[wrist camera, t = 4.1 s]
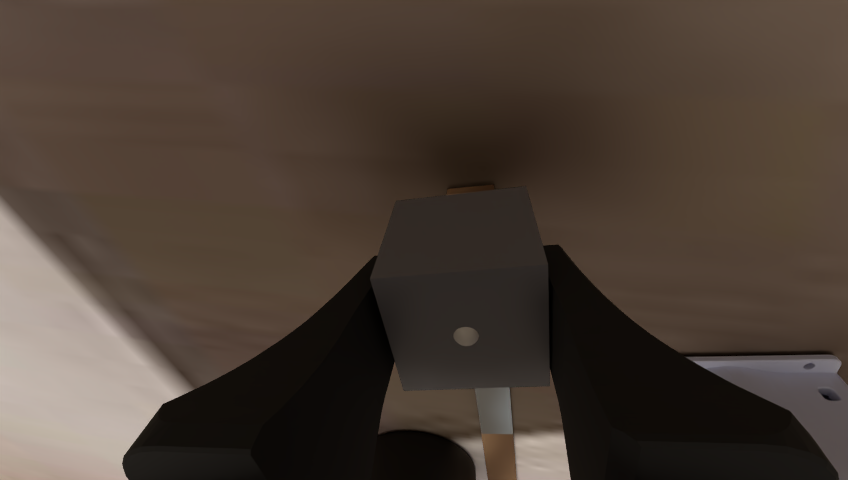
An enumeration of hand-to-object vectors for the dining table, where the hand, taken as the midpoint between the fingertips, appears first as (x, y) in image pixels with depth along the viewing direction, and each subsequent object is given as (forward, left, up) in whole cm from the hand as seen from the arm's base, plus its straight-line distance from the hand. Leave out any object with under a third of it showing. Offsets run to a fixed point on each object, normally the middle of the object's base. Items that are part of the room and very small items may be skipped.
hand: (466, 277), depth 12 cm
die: (0, 0, -2) cm, 2 cm away
